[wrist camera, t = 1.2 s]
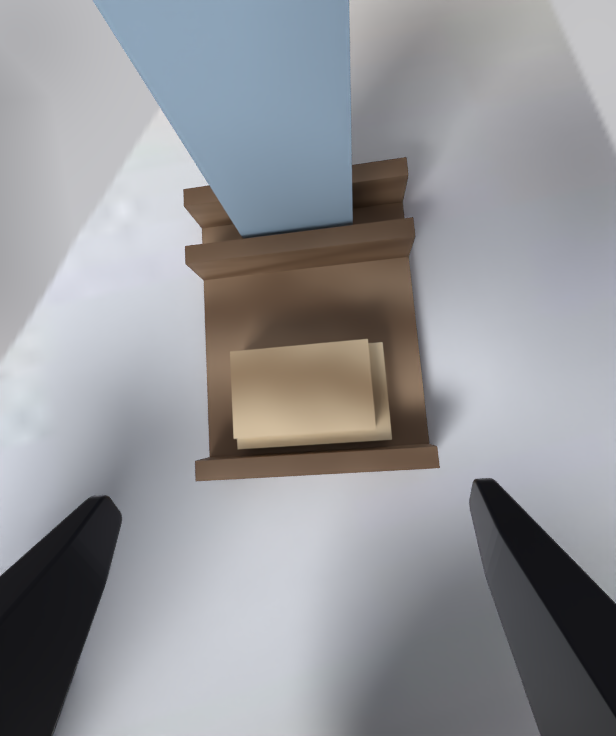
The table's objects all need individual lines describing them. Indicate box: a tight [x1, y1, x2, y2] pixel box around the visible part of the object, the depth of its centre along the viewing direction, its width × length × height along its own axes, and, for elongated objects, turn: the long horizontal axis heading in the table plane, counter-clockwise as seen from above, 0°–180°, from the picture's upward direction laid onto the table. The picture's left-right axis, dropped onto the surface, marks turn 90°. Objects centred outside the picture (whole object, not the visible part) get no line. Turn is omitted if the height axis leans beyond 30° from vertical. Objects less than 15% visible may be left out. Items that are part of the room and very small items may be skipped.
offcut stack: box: [230, 339, 392, 449], centre depth 20 cm, size 5×8×2 cm, turn 94°
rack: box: [183, 157, 440, 481], centre depth 21 cm, size 17×12×3 cm
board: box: [93, 0, 353, 239], centre depth 16 cm, size 2×6×14 cm, turn 94°
